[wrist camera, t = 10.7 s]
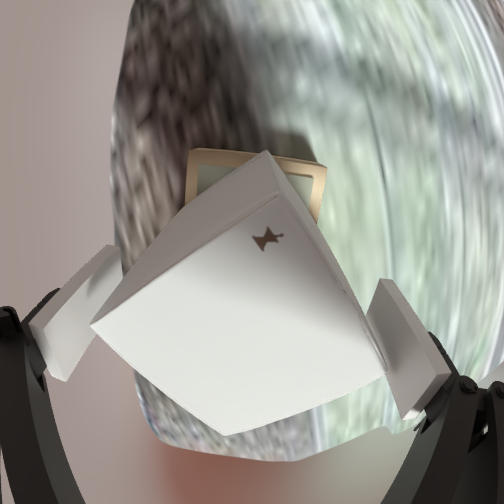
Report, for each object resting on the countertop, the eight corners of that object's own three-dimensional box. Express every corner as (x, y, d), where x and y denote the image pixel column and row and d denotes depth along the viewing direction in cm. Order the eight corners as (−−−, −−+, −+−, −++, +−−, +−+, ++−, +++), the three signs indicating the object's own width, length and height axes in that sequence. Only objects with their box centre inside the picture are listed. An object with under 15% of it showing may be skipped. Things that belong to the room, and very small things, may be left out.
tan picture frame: (198, 147, 25) (187, 151, 21) (317, 162, 25) (328, 168, 21) (191, 255, 29) (181, 275, 25) (297, 268, 30) (303, 290, 26)
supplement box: (175, 210, 23) (77, 322, 9) (267, 147, 21) (283, 178, 7) (238, 291, 26) (221, 441, 12) (326, 240, 24) (394, 375, 10)
